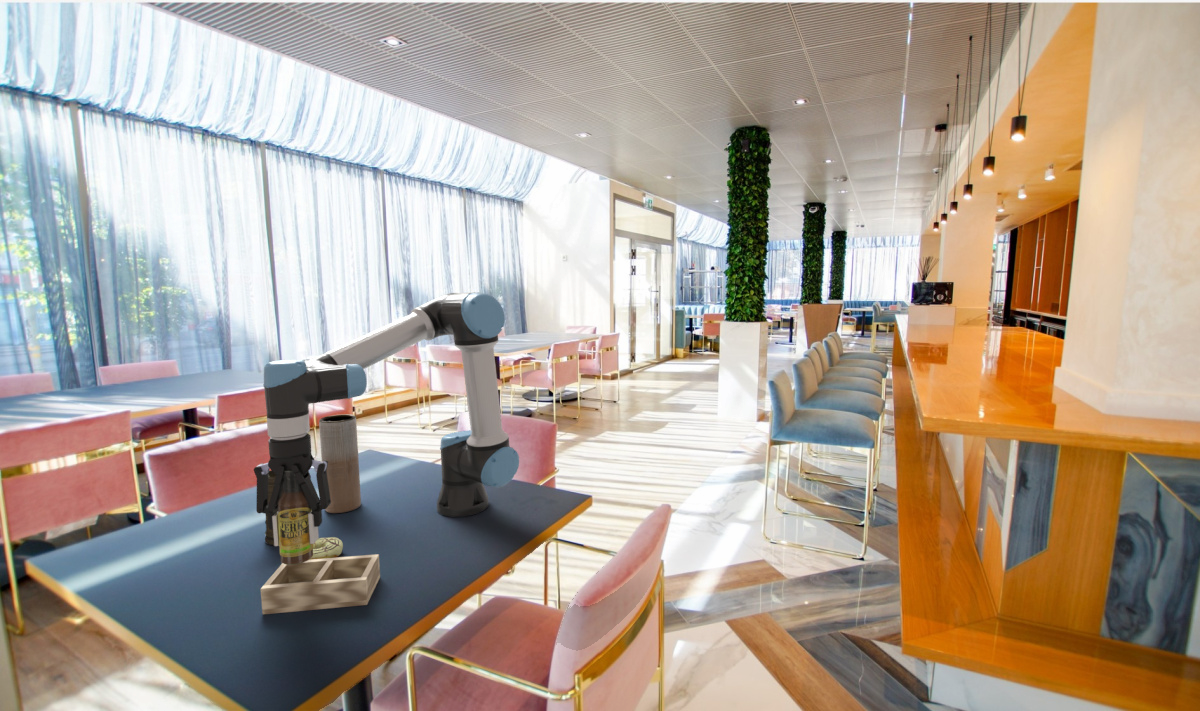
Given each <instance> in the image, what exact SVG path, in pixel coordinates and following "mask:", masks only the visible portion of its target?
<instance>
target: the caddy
mask: <svg viewBox="0 0 1200 711" xmlns="http://www.w3.org/2000/svg"><path fill="white" fill-rule="evenodd" d="M380 568H381V567H380V554H376V553H375V554H365V555H351V556H338V557H336V558H324V559H312V560H308V561H306V562H303V563H299V564H294V565H287V564H284V563H282V562H281V564H280V565H279V567H278V568H277V569H276V570H275V571H274V573H273V574H272V575H271V576H270V577H269V578H268V579H267V581H266V582H265V583H264V584H263V585H262V587H261V588H260V600H261V601H260V602H261V612H262V615H270V614H280V613H293V612H304V611H313V610H315V611H316V610H324V609H325V610H326V609H327V610H328V609H335V608H345V607H357V606H367V605H368V604H369V601H370V599H371V597H372V595H373V594H374V591H375V589H376V587H377V584H378V583H379V580H380V578H381V570H380Z"/></svg>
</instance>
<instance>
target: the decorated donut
mask: <svg viewBox="0 0 1200 711" xmlns="http://www.w3.org/2000/svg"><path fill="white" fill-rule="evenodd" d="M343 548H344V544H343V541H342V540H341V539H339V537H335V536H331V537H330V536H329V537H319V538H318V539H317V540H316V542H315V543H314V544H313V556H312V557H311V558H310V559H309V560H312V559H324V558H337V557H340V555H341V554H342V551H343Z"/></svg>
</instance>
